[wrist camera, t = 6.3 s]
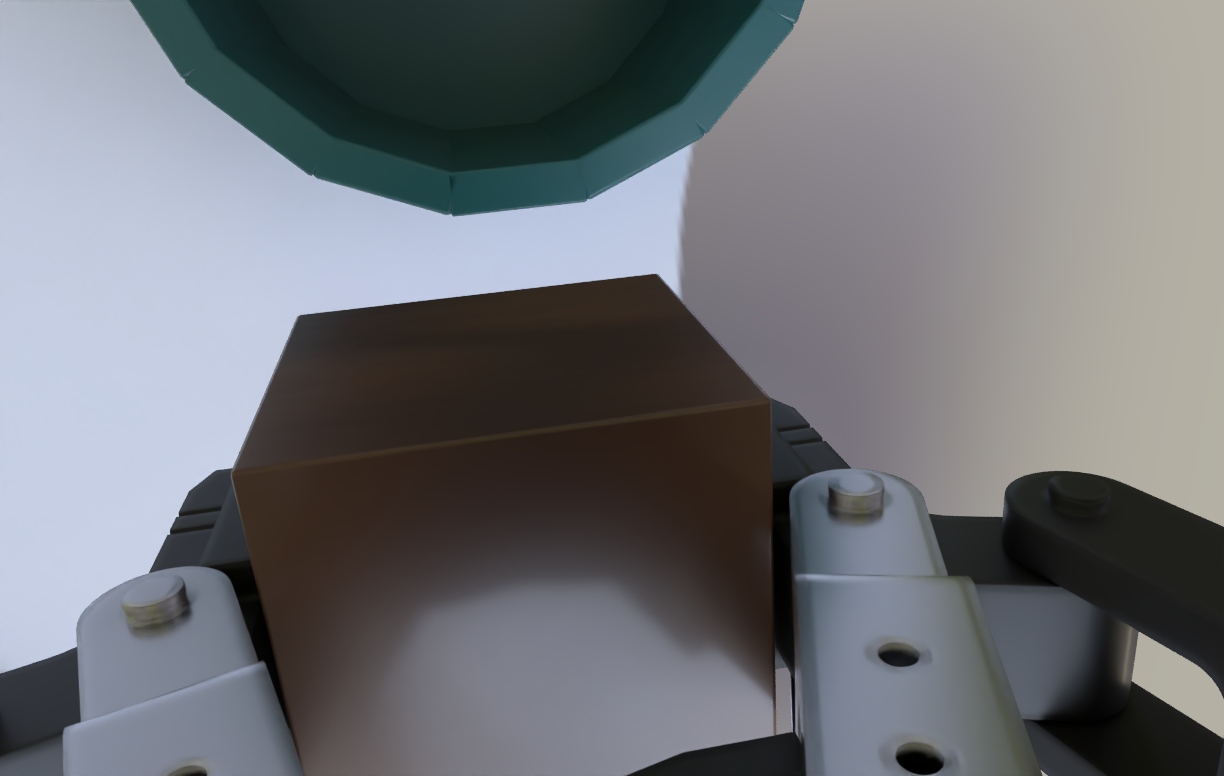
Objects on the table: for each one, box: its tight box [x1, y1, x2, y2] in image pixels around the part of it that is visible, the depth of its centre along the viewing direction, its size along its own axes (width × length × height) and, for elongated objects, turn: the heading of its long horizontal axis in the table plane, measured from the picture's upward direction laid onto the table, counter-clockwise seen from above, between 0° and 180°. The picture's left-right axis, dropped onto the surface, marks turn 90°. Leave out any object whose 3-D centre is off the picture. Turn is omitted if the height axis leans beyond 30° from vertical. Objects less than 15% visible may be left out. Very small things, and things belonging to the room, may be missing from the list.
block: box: [231, 274, 776, 776], centre depth 11 cm, size 5×5×5 cm
